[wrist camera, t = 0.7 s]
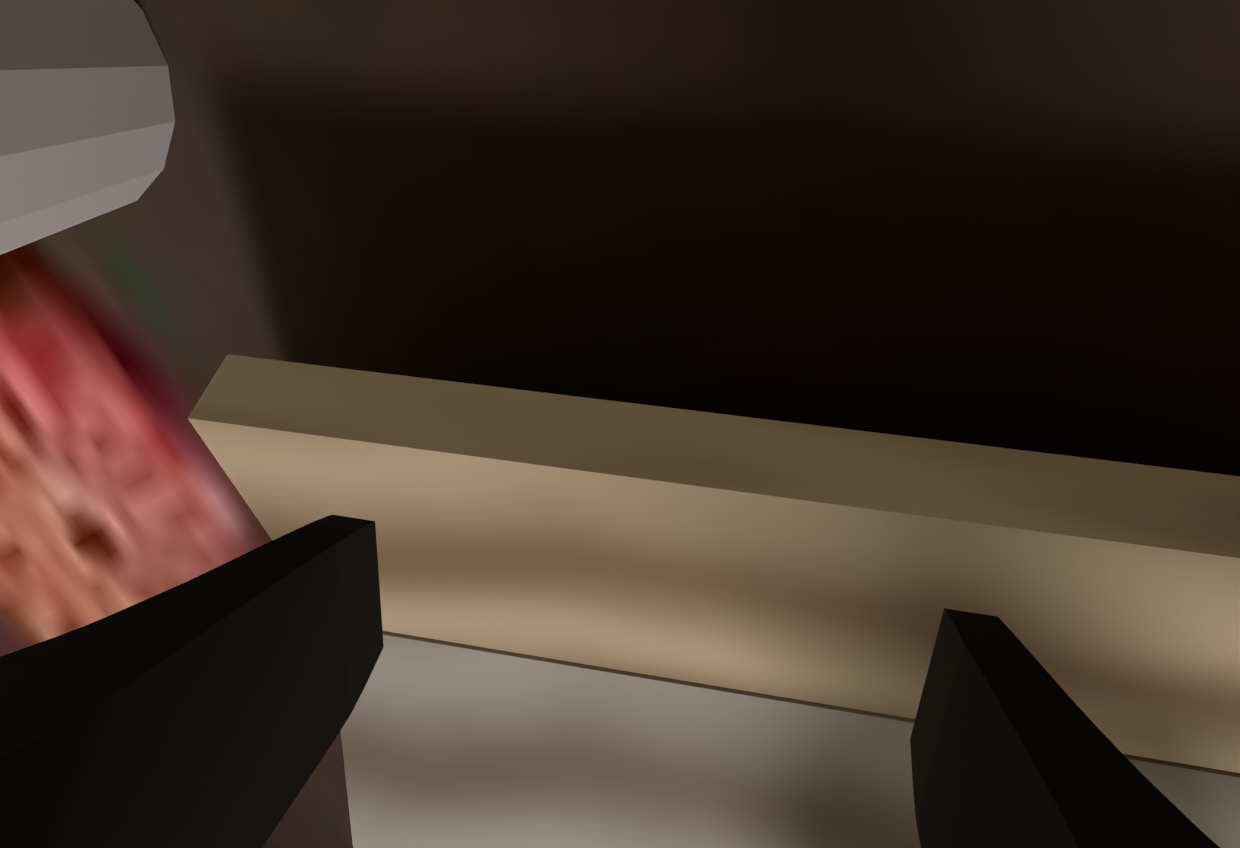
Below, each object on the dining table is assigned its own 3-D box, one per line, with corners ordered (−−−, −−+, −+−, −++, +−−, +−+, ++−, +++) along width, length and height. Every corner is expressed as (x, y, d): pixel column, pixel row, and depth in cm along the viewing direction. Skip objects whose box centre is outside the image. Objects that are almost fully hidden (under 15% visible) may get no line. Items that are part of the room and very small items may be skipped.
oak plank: (1298, 715, 19) (1319, 786, 18) (351, 567, 22) (329, 621, 21) (1616, 521, 13) (1672, 616, 12) (227, 354, 16) (187, 418, 15)
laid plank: (1169, 970, 23) (1192, 1029, 21) (376, 813, 26) (354, 855, 25) (1280, 738, 19) (1317, 790, 18) (357, 590, 23) (329, 625, 21)
